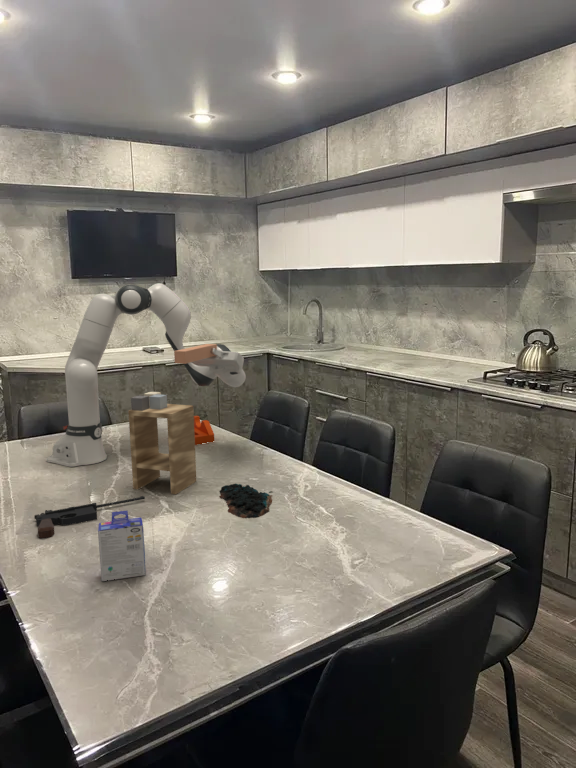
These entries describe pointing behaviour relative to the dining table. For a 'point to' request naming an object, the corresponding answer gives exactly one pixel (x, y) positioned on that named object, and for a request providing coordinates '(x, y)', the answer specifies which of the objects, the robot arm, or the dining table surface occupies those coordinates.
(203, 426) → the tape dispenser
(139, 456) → the oak shelf
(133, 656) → the dining table surface
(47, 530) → the firearm
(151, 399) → the slate cube
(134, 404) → the charcoal cube
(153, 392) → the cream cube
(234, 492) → the mineral specimen
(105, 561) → the ink cartridge box
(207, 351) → the terracotta bar
